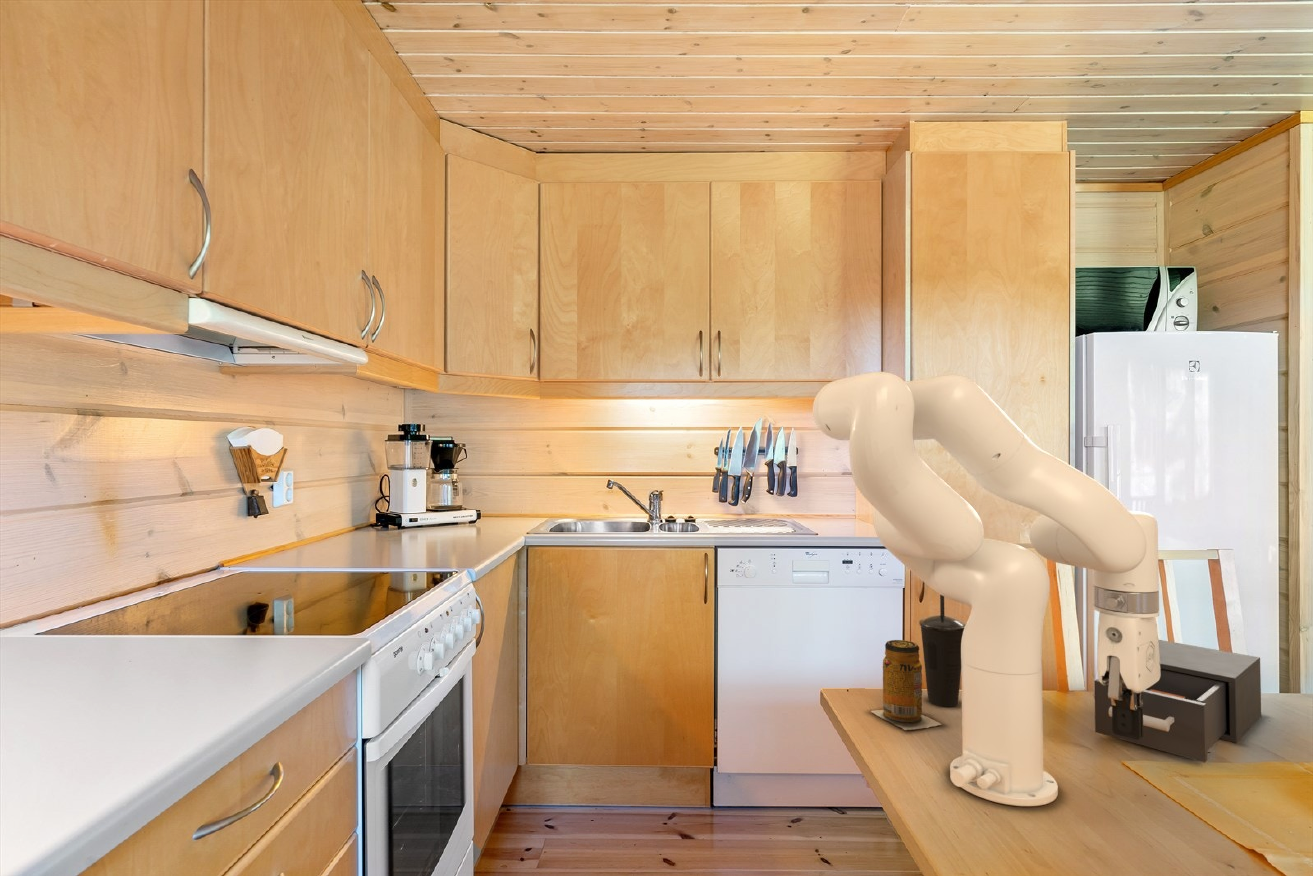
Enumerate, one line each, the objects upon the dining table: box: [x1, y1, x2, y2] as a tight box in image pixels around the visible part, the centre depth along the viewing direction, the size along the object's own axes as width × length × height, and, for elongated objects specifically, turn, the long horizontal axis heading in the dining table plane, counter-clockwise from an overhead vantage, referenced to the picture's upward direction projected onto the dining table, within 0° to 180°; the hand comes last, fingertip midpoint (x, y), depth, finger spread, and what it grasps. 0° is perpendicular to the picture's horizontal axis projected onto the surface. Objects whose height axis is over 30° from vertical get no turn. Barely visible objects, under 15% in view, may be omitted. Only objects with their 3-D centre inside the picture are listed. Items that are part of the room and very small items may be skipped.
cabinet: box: [1158, 639, 1262, 744], centre depth 113 cm, size 17×15×10 cm
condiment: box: [870, 639, 943, 731], centre depth 112 cm, size 7×8×12 cm
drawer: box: [1093, 668, 1227, 764], centre depth 103 cm, size 20×13×8 cm
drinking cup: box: [918, 594, 966, 708], centre depth 119 cm, size 8×8×20 cm
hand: (1127, 735), depth 94 cm, fingers closed
